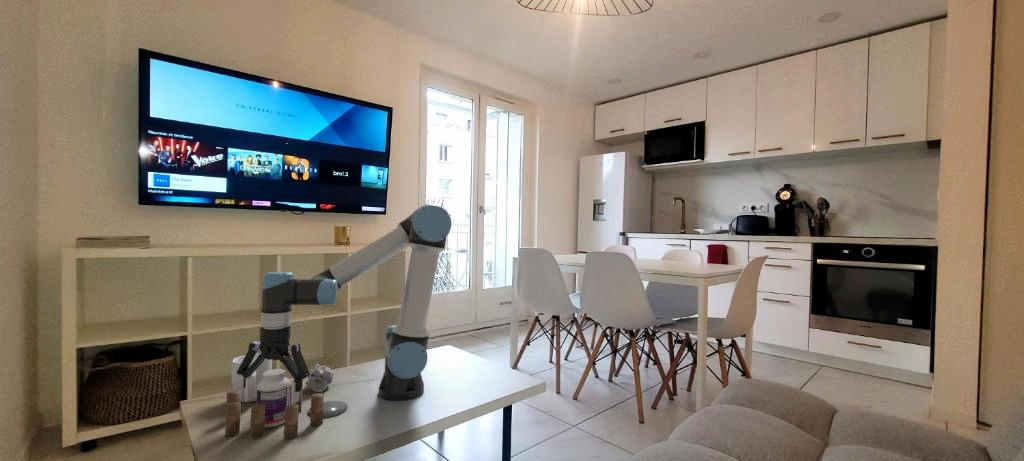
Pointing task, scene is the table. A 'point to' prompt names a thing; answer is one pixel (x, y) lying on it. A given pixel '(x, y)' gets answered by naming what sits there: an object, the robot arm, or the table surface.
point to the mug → (238, 379)
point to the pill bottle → (274, 396)
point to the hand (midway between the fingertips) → (272, 401)
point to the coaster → (332, 408)
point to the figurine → (319, 378)
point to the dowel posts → (259, 416)
